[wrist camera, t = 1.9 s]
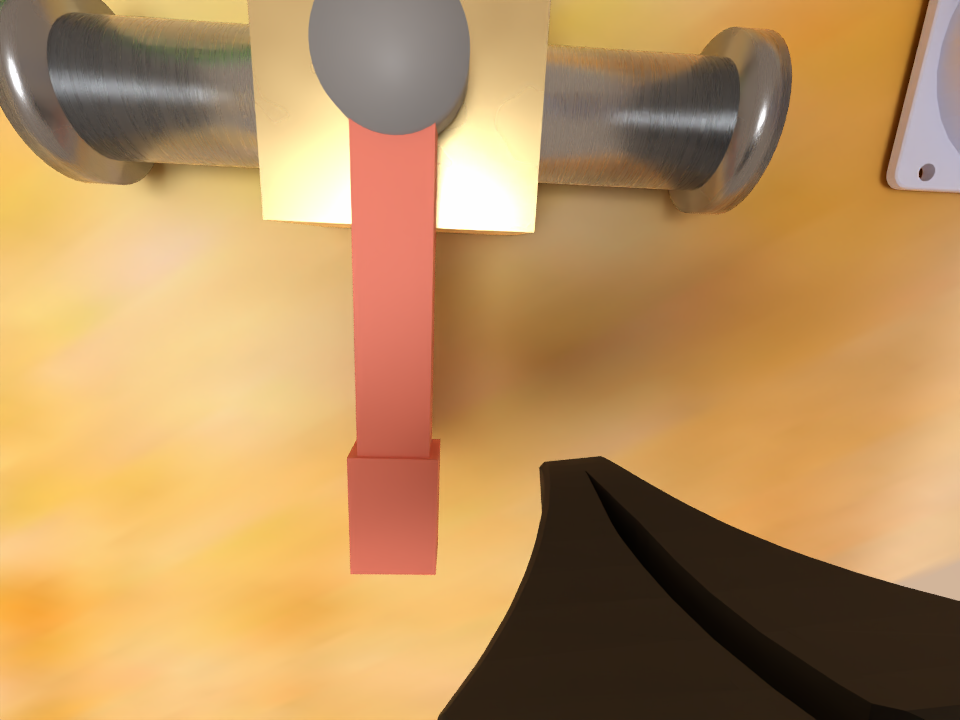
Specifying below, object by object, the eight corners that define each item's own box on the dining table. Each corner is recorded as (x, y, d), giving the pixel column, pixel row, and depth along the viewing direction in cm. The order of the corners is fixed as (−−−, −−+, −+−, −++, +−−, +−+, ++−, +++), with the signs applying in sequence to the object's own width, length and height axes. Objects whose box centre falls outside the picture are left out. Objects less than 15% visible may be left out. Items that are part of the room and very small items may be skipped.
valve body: (707, 38, 14) (834, -67, 9) (677, 243, 15) (773, 243, 11) (116, -4, 13) (-79, -142, 8) (145, 218, 14) (-6, 207, 10)
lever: (325, -17, 9) (304, -58, 8) (471, -6, 9) (473, -45, 8) (345, 543, 12) (331, 578, 11) (452, 545, 12) (452, 578, 11)
